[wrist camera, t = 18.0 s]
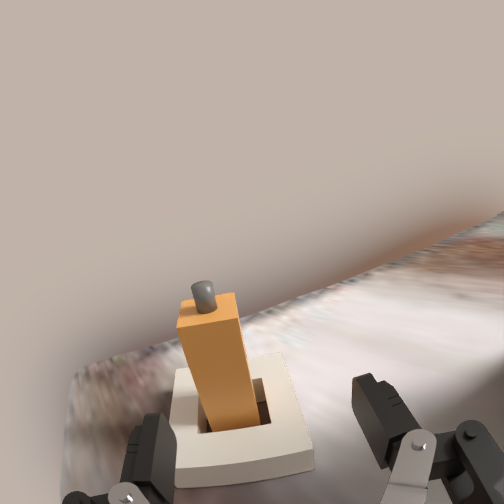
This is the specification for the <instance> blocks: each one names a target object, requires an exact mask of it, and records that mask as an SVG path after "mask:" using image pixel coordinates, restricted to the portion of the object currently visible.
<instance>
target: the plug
mask: <svg viewBox="0 0 504 504" xmlns="http://www.w3.org/2000/svg"><path fill="white" fill-rule="evenodd" d="M191 289H192V293H193V297H194V299H192V300H185V301H182V303H181V308H180V313H179V318H178V323H177V331H178V335H179V338H180V341H181V344H182V347H183V351H184V354H185V357H186V360H187V363H188V366H189V369H190V372H191V375H192V378H193V381H194V383H195V386H196V389H197V392H198V395H199V397H200V400H201V403H202V406H203V408H204V411H205V414H206V416H207V419H208V422H209V424H210V427H211V429H212V432H221V431H228V430H235V429H242V428H248V427H254V426H260V425H261V422H260V416H259V411H258V406H257V402H256V397H255V393H254V388H253V383H252V378H251V374H250V369H249V364H248V359H247V355H246V350H245V345H244V340H243V335H242V330H241V325H240V320H239V315H238V310H237V305H236V300H235V295H234V292H231V293H226V294H220V295H215V294H214V289H213V285H212V282H211V281H200V282H197V283H195V284H193V285H192V286H191Z"/></svg>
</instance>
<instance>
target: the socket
mask: <svg viewBox="0 0 504 504" xmlns="http://www.w3.org/2000/svg"><path fill="white" fill-rule="evenodd" d="M247 359H248V364H249V369H250V374H251V378H252V383H253V388H254V393H255V397H256V402H263V401H266V402H267V407H268V412H269V416H270V421H271V424H266V425H260V426H254V427H248V428H242V429H235V430H228V431H221V432H212V433H207V416H206V414H205V411H204V408H203V406H202V403H201V400H200V397H199V395H198V392H197V389H196V386H195V383H194V381H193V378H192V375H191V372H190V369H189V368H181V369H176V376H175V382H174V389H173V396H172V403H171V411H170V418H169V424H170V426H171V428H172V430H173V431H174V433H175V436H176V440H177V454H176V468H175V482H174V485H175V486H176V487H177V488H196V487H210V486H221V485H231V484H239V483H247V482H254V481H260V480H266V479H272V478H277V477H283V476H288V475H292V474H297V473H301V472H306V471H310V470H314V448H313V445H312V442H311V439H310V436H309V433H308V430H307V427H306V424H305V421H304V418H303V415H302V412H301V409H300V406H299V403H298V399H297V396H296V393H295V390H294V387H293V384H292V381H291V378H290V375H289V372H288V369H287V366H286V363H285V360H284V357H283V354H282V352H279V353H274V354H269V355H263V356H258V357H253V358H247Z"/></svg>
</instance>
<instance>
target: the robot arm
mask: <svg viewBox="0 0 504 504" xmlns="http://www.w3.org/2000/svg"><path fill="white" fill-rule="evenodd" d="M352 408H353V412H354V414H355V416H356V418H357V420H358V423H359V425H360V427H361V429H362V431H363V433H364V435H365V437H366V439H367V441H368V443H369V445H370V447H371V450H372V452H373V454H374V456H375V458H376V460H377V462H378V464H379V466H380V468H381V469H384V468H386V467H389V468H390V470H391V472H392V473H391V476H390V478H389V481H388V484H387V487H386V489H385V492H384V495H383V497H382V500H381V502H380V504H424V502H425V499H426V496H427V491H428V488H427V483H428V481H429V480H435V479H440V478H441V480H442V482H443V484H444V486H445V488H446V490H447V492H448V494H449V497H450V499H451V501H452V503H453V504H504V454H503V453H502V451H501V450H500V448H499V447H498V445H497V444H496V442H495V441H494V439H493V438H492V436H491V435H490V433H489V432H488V431H487V429H486V428H485V426H484V425H483V424H482V423H480V422H478V421H475V420H468V421H465V422H463V423H461V424H460V425H459V426H458V427H457V429H456V431H452V432H447V433H441V434H433V433H431V432H430V431H428V430H425V429H422V428H421V427H420V426H419V424H418V423H417V421H416V420H415V418H414V417H413V415H412V414H411V412H410V411H409V409H408V408H407V406H406V405H405V403H403V400H402V399H401V397H400V396H399V394H398V393H397V391H396V390H395V388H394V387H393V386H392V385H390V384H389V383H387V382H386V381H381V382H378V383H377V382H376V380H375V378H374V377H373V375H372V374H371V373H367V374H364V375H361V376H358V377H354V378H353V381H352ZM126 452H127V454H126V455H125V460H124V465H123V470H122V474H121V479H120V482H119V483H118V484H116V485H115V486H113V487H112V488H111V490H110V491H109V493H107V494H103V495H98V496H93V497H89V496H87V495H86V494H85V493H83V492H80V491H75V492H71V493H69V494H68V495H67V496H66V497H65V498H64V500H63V502H62V504H173V498H174V482H175V468H176V454H177V440H176V436H175V433H174V431H173V430H172V428H171V426H170V424H169V422H168V420H167V418H166V416H165V415H164V413H151V414H145V416H144V421H143V426H136V427H135V429H134V430H133V431H132V433H131V434H130V438H129V442H128V446H127V451H126Z"/></svg>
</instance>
